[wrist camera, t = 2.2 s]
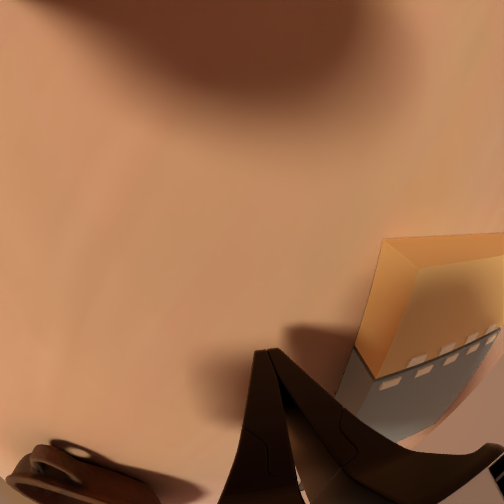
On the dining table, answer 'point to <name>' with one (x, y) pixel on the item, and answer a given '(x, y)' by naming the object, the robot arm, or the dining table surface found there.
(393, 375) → the grey flat block
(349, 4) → the dining table surface
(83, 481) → the dish
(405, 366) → the stub
